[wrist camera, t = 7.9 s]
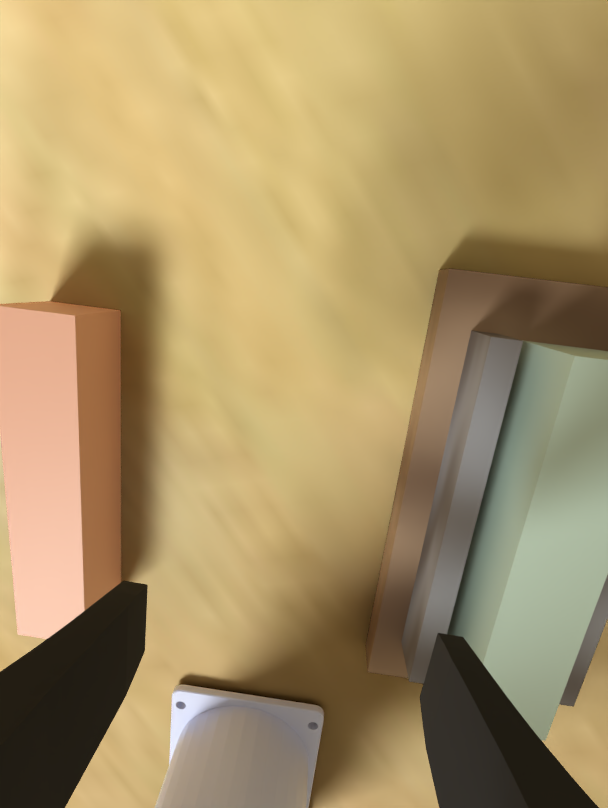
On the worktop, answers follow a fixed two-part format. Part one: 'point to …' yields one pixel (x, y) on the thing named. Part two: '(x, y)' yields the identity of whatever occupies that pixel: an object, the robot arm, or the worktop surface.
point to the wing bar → (61, 457)
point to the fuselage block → (540, 530)
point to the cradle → (466, 453)
